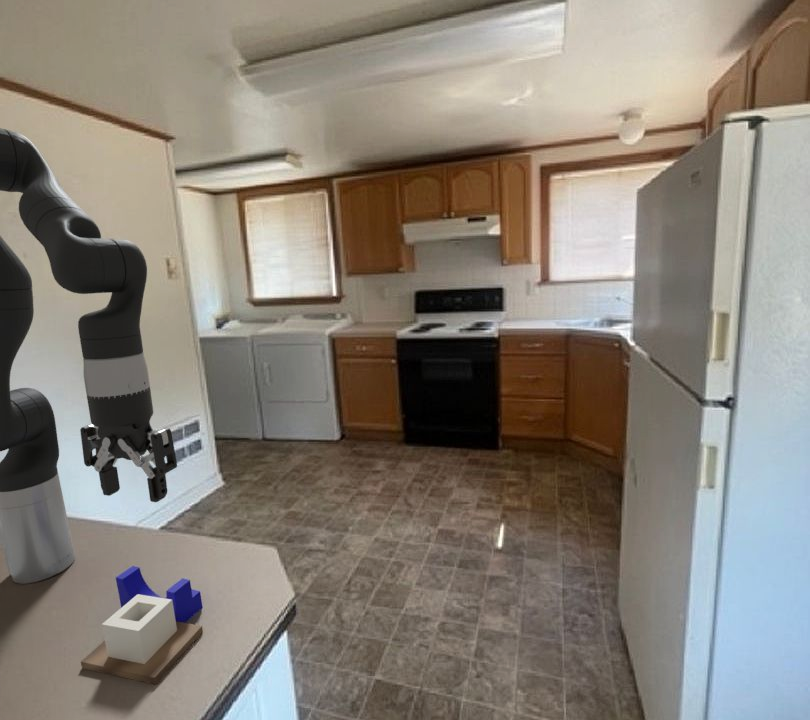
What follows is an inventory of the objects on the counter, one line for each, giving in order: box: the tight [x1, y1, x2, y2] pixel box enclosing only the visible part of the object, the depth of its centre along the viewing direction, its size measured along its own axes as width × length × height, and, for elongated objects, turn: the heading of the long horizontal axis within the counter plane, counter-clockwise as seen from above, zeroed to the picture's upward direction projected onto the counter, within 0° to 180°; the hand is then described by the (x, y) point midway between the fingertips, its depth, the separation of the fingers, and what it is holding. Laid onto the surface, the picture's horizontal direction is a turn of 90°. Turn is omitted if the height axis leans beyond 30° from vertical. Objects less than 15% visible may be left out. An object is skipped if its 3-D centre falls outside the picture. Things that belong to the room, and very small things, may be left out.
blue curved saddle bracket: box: [115, 565, 203, 623], centre depth 73 cm, size 12×4×6 cm, turn 69°
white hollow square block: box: [101, 594, 177, 664], centre depth 65 cm, size 6×6×5 cm
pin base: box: [80, 619, 203, 685], centre depth 65 cm, size 12×9×5 cm
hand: (134, 496), depth 67 cm, fingers open, 8 cm apart
